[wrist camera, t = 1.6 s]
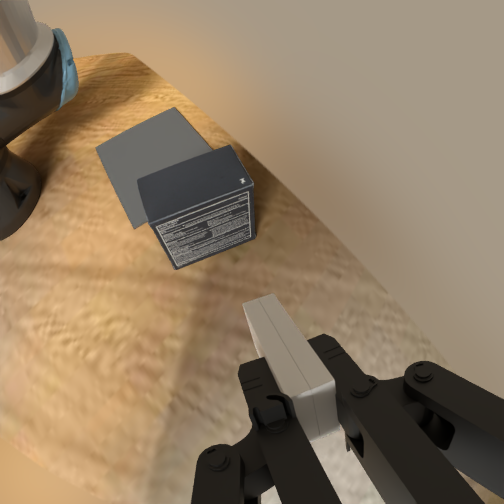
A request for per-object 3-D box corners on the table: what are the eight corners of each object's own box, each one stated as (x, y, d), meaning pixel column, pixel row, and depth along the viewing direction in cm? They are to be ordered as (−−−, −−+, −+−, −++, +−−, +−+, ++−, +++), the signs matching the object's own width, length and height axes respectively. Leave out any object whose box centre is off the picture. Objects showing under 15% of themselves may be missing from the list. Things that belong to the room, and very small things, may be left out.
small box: (236, 198, 41) (231, 140, 32) (257, 239, 38) (258, 184, 29) (159, 228, 39) (134, 175, 30) (174, 272, 37) (148, 226, 27)
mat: (95, 148, 46) (95, 147, 46) (174, 108, 50) (174, 106, 50) (134, 229, 39) (133, 228, 39) (232, 174, 43) (232, 173, 43)
